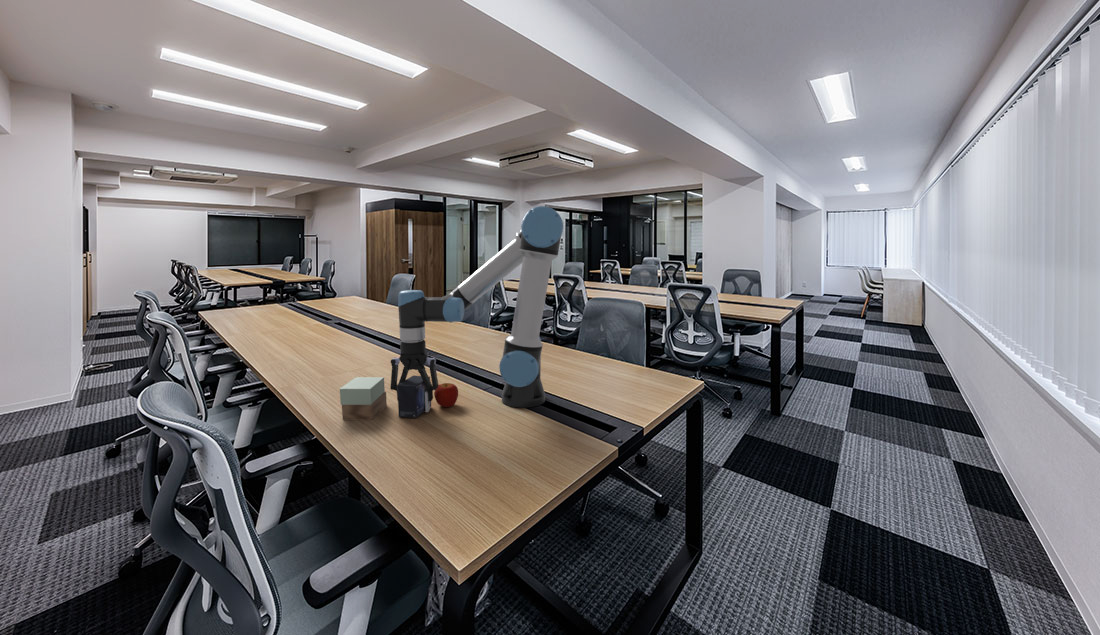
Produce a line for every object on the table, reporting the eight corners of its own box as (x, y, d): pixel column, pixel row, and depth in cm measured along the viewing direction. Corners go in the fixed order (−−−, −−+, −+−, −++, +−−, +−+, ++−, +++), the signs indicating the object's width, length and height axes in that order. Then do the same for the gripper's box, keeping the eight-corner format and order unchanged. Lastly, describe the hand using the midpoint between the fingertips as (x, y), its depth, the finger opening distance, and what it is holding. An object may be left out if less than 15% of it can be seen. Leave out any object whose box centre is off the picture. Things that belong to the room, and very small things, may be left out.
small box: (417, 418, 130) (415, 385, 128) (397, 417, 131) (395, 384, 130) (432, 406, 140) (430, 375, 139) (414, 405, 141) (412, 375, 140)
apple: (433, 410, 137) (433, 387, 136) (435, 402, 145) (434, 380, 144) (458, 409, 139) (458, 386, 138) (458, 401, 147) (458, 379, 145)
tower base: (386, 406, 141) (386, 391, 141) (372, 420, 130) (371, 404, 129) (359, 405, 141) (358, 391, 141) (342, 419, 129) (341, 404, 129)
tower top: (384, 391, 140) (384, 377, 140) (371, 404, 129) (370, 388, 128) (356, 391, 140) (356, 377, 139) (340, 404, 128) (339, 388, 127)
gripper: (447, 337, 136) (449, 406, 140) (384, 337, 136) (388, 406, 139) (442, 342, 129) (444, 415, 132) (375, 342, 128) (379, 415, 132)
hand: (415, 410), depth 136 cm, fingers closed on small box, 7 cm apart
